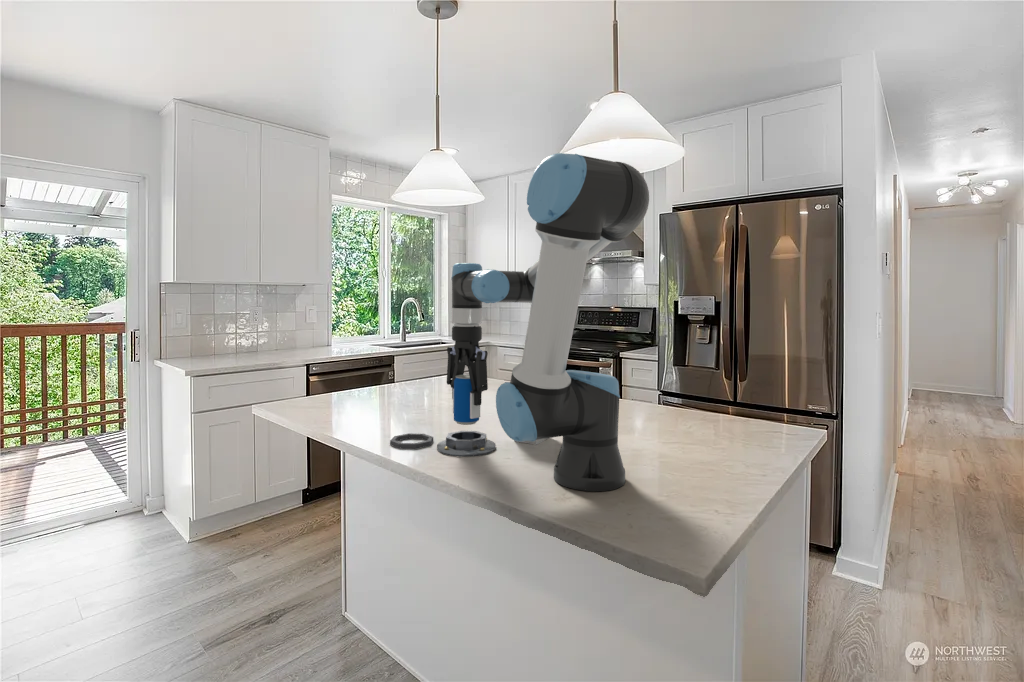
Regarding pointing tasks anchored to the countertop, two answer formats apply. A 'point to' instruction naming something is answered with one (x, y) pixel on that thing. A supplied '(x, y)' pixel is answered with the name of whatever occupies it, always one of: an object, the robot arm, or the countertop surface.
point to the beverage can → (462, 400)
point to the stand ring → (400, 445)
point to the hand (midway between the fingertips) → (466, 415)
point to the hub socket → (466, 444)
